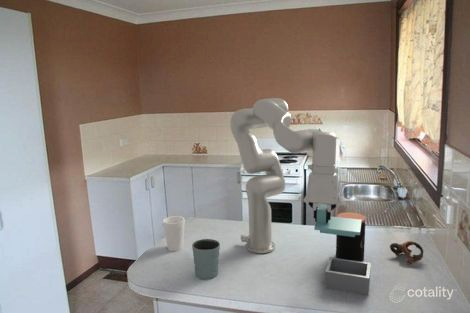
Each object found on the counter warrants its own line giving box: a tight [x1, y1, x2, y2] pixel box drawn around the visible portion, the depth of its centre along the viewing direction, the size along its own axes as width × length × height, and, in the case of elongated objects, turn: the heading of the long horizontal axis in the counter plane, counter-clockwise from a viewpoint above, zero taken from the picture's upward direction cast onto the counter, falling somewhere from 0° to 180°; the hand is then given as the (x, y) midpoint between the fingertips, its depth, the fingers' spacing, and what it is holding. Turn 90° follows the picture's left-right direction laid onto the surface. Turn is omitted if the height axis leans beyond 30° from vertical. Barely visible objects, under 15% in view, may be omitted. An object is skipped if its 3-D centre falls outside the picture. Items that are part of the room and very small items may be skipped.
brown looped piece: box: [389, 240, 424, 265], centre depth 149 cm, size 12×10×8 cm
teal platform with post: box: [314, 204, 362, 237], centre depth 128 cm, size 14×11×8 cm
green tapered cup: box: [191, 238, 221, 281], centre depth 141 cm, size 10×10×12 cm
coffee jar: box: [335, 211, 367, 262], centre depth 148 cm, size 11×11×18 cm
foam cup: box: [162, 215, 186, 252], centre depth 164 cm, size 10×9×13 cm
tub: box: [324, 257, 372, 296], centre depth 130 cm, size 14×11×7 cm
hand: (321, 220), depth 130 cm, fingers closed on teal platform with post, 3 cm apart
